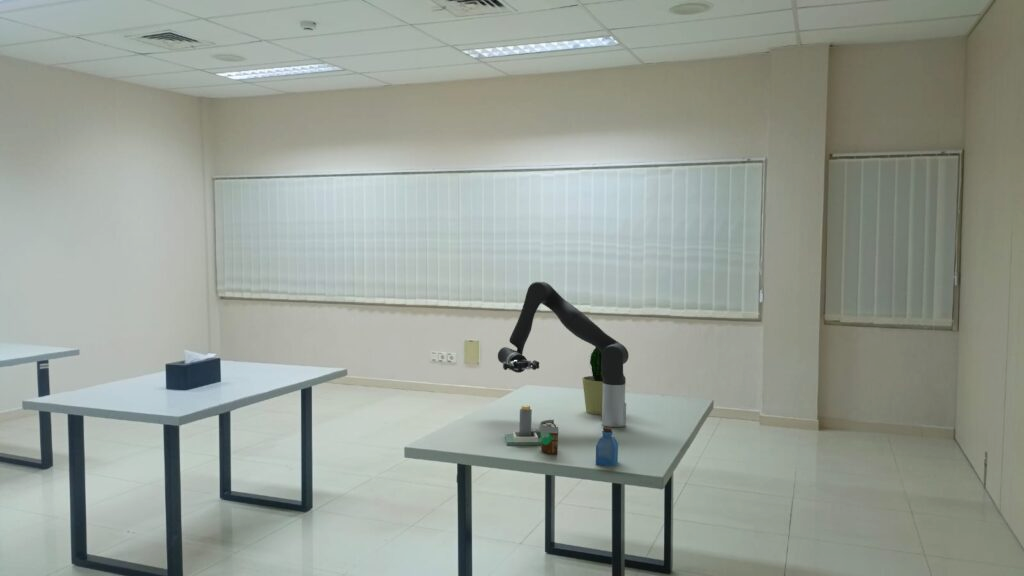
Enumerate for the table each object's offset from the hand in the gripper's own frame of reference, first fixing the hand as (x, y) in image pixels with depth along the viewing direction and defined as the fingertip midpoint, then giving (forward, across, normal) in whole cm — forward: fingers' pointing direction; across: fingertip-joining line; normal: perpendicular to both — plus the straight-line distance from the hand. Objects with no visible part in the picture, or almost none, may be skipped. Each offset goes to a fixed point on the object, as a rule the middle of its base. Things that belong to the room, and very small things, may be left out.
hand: (524, 367), depth 288 cm
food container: (+29, +2, +26) cm, 39 cm away
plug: (+16, -3, +24) cm, 29 cm away
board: (+15, -3, +25) cm, 29 cm away
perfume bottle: (+46, +19, +27) cm, 56 cm away
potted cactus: (-32, +40, +26) cm, 57 cm away
